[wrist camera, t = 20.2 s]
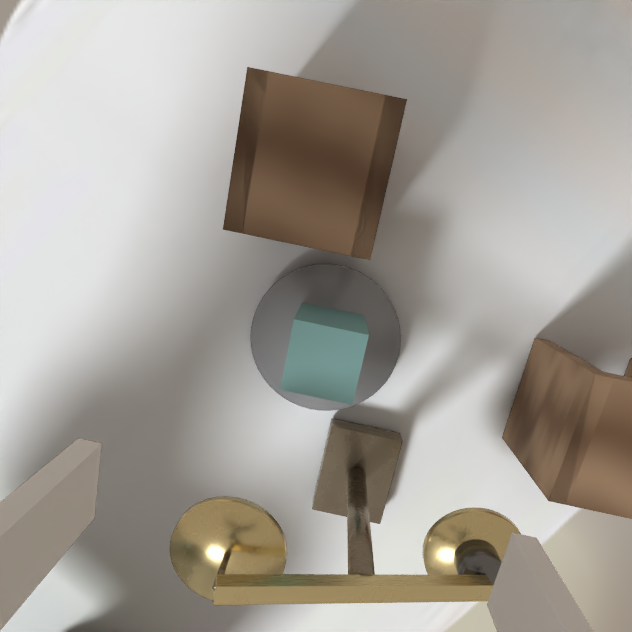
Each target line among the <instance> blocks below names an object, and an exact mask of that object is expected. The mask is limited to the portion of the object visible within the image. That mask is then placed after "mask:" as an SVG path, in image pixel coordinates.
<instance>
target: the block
mask: <svg viewBox="0 0 632 632" xmlns="http://www.w3.org/2000/svg"><path fill="white" fill-rule="evenodd" d="M368 337H369V333H368V329H367V324H366V320H365V316H364V315H360V314H355V313H350V312H345V311H341V310H336V309H331V308H326V307H321V306H317V305H312V304H307V303H302V304H301V306H300V308H299V310H298V312H297V314H296V316H295V318H294V320H293V326H292V331H291V336H290V341H289V346H288V351H287V356H286V362H285V367H284V372H283V377H282V382H281V387H280V390H284V391H289V392H293V393H298V394H303V395H307V396H312V397H317V398H321V399H326V400H331V401H336V402H340V403H345V404H350V405H353V401H354V396H355V392H356V388H357V384H358V379H359V375H360V371H361V367H362V363H363V358H364V354H365V350H366V346H367V341H368Z"/></svg>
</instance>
